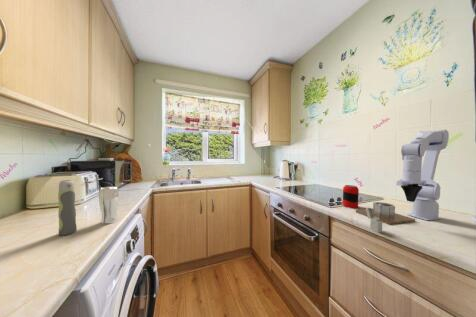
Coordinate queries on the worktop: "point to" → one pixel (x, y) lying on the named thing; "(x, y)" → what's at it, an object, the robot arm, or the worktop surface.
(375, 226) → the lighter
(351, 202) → the soda can
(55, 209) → the worktop surface
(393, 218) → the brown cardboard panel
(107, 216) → the beer glass
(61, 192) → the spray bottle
